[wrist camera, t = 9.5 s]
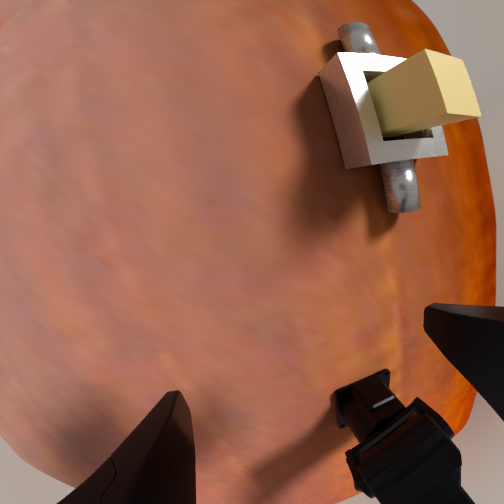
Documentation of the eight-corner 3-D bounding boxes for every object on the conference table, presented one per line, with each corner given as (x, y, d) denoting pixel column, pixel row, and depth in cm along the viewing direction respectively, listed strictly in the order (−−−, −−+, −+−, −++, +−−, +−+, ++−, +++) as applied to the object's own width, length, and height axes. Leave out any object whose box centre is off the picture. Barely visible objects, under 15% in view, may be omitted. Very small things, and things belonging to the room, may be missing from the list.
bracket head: (426, 200, 22) (455, 202, 18) (354, 218, 21) (382, 223, 17) (381, 40, 18) (403, 24, 15) (304, 35, 18) (320, 12, 14)
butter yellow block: (396, 136, 20) (481, 117, 11) (361, 139, 20) (447, 113, 10) (385, 95, 20) (462, 60, 10) (349, 95, 19) (424, 48, 10)
